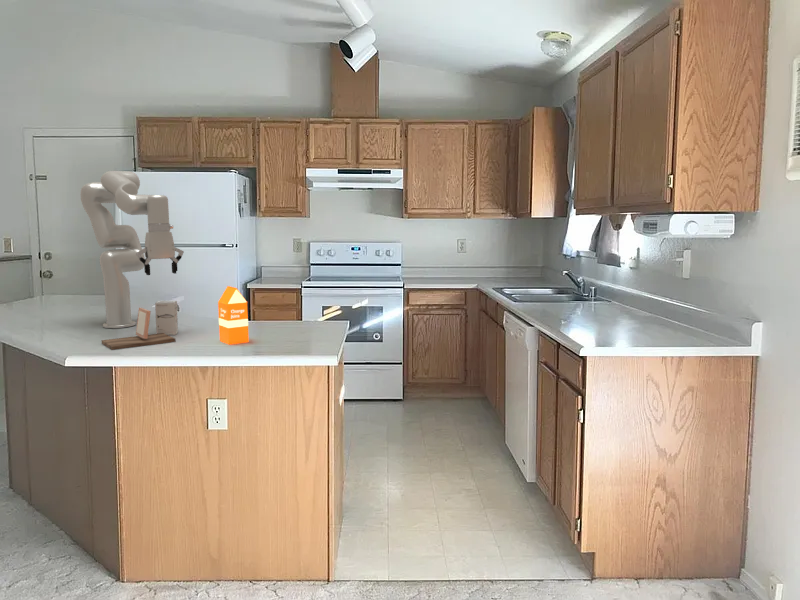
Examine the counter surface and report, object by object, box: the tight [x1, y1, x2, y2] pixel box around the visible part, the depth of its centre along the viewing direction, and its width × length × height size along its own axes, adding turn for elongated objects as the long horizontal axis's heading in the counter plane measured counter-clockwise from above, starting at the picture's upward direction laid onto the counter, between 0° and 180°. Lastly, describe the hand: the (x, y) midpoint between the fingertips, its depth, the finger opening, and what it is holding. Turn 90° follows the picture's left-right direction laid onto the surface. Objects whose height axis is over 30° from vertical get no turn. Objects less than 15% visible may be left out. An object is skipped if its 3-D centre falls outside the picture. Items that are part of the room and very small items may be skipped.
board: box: [100, 333, 176, 351], centre depth 243 cm, size 14×22×1 cm, turn 127°
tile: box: [135, 307, 152, 339], centre depth 244 cm, size 10×10×1 cm
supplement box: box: [154, 300, 179, 336], centre depth 260 cm, size 7×7×13 cm
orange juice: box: [217, 285, 250, 346], centre depth 243 cm, size 8×9×20 cm
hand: (161, 274), depth 254 cm, fingers open, 9 cm apart
